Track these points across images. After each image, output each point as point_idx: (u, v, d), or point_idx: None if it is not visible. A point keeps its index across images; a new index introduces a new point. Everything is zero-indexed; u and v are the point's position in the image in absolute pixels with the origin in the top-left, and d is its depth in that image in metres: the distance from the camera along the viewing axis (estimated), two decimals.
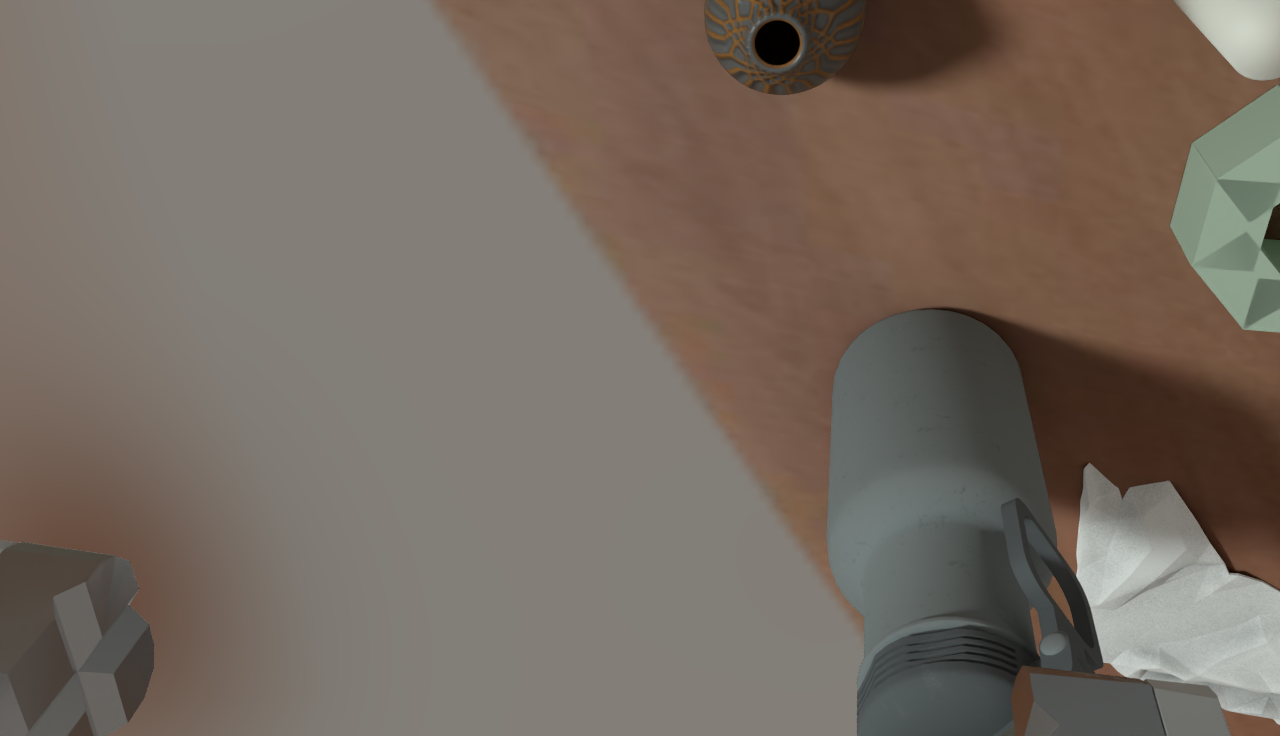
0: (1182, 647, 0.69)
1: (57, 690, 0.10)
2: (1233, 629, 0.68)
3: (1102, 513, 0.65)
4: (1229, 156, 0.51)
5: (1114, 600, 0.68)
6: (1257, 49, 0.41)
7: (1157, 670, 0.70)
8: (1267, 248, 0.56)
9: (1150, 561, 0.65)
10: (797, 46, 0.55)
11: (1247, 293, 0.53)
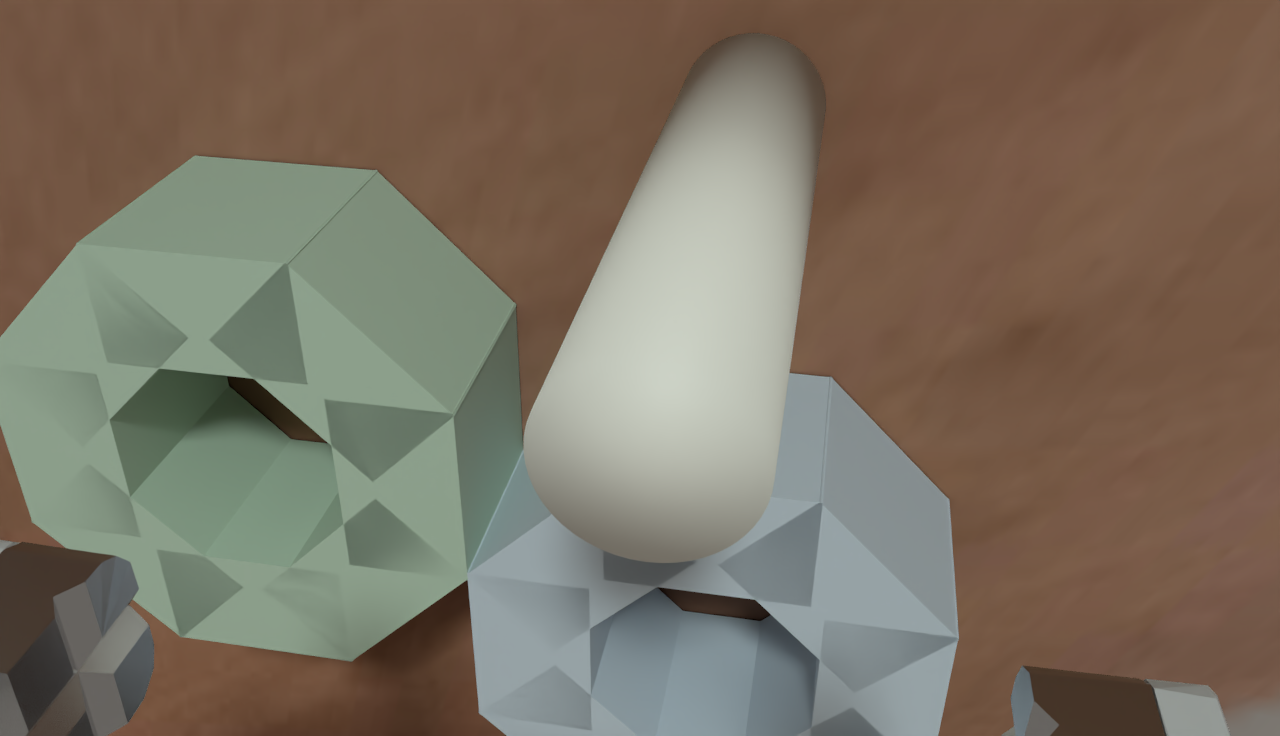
0: None
1: (57, 690, 0.10)
2: None
3: None
4: (349, 270, 0.23)
5: None
6: (616, 433, 0.13)
7: None
8: None
9: None
10: None
11: (57, 359, 0.24)
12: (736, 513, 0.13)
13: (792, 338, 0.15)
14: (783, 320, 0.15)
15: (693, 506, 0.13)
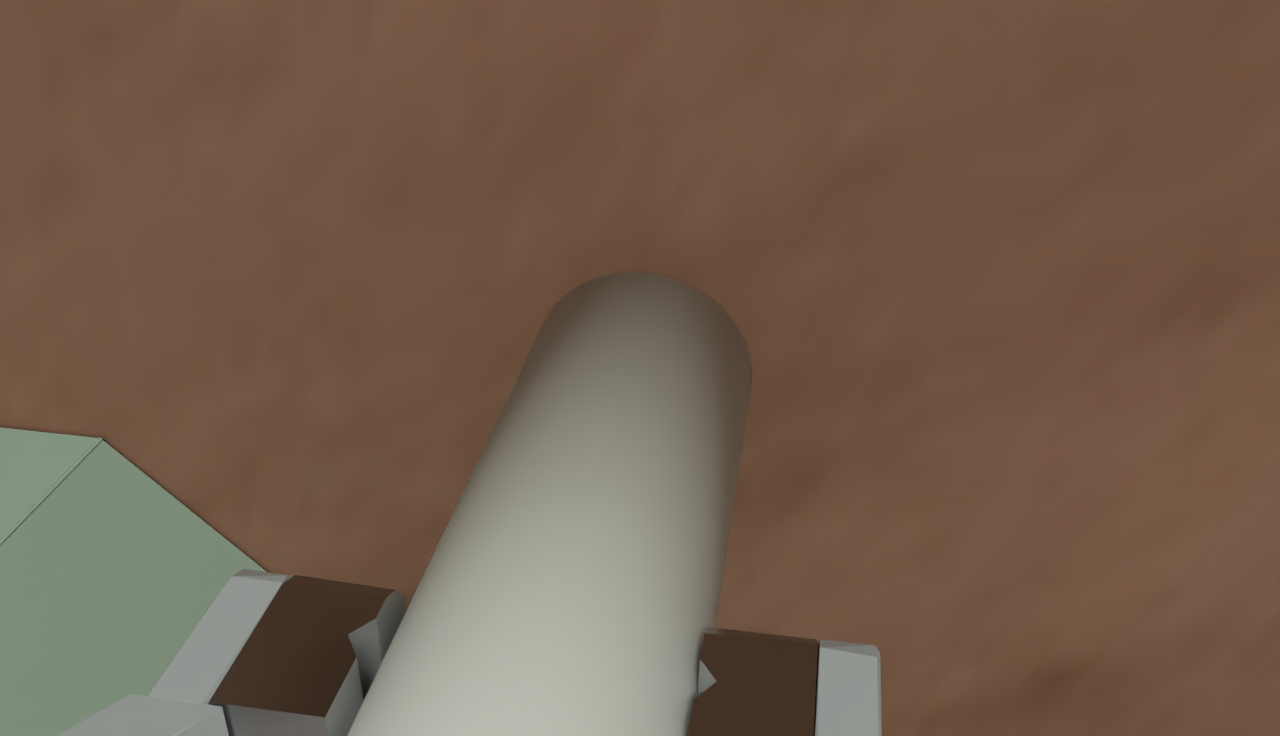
0: None
1: None
2: None
3: None
4: (15, 638, 0.15)
5: None
6: None
7: None
8: None
9: None
10: None
11: None
12: None
13: None
14: None
15: None
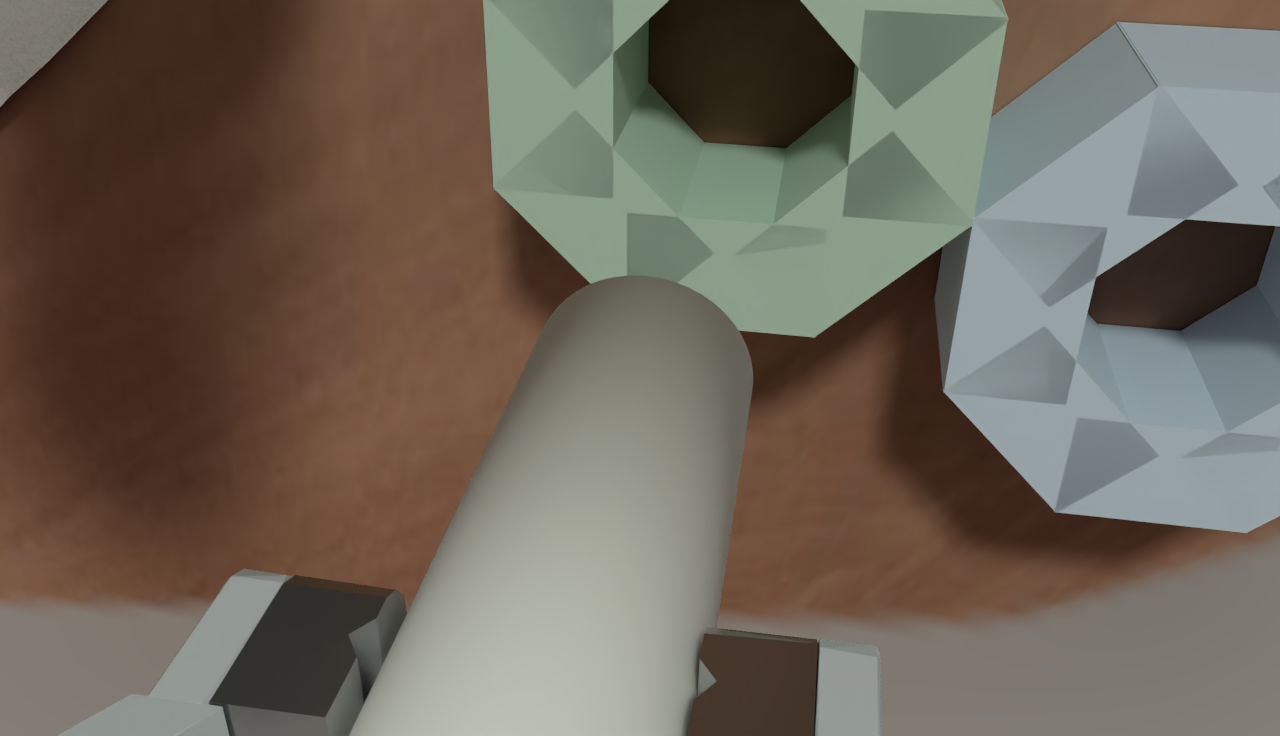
0: None
1: None
2: None
3: None
4: None
5: None
6: None
7: None
8: None
9: None
10: None
11: None
12: None
13: None
14: None
15: None
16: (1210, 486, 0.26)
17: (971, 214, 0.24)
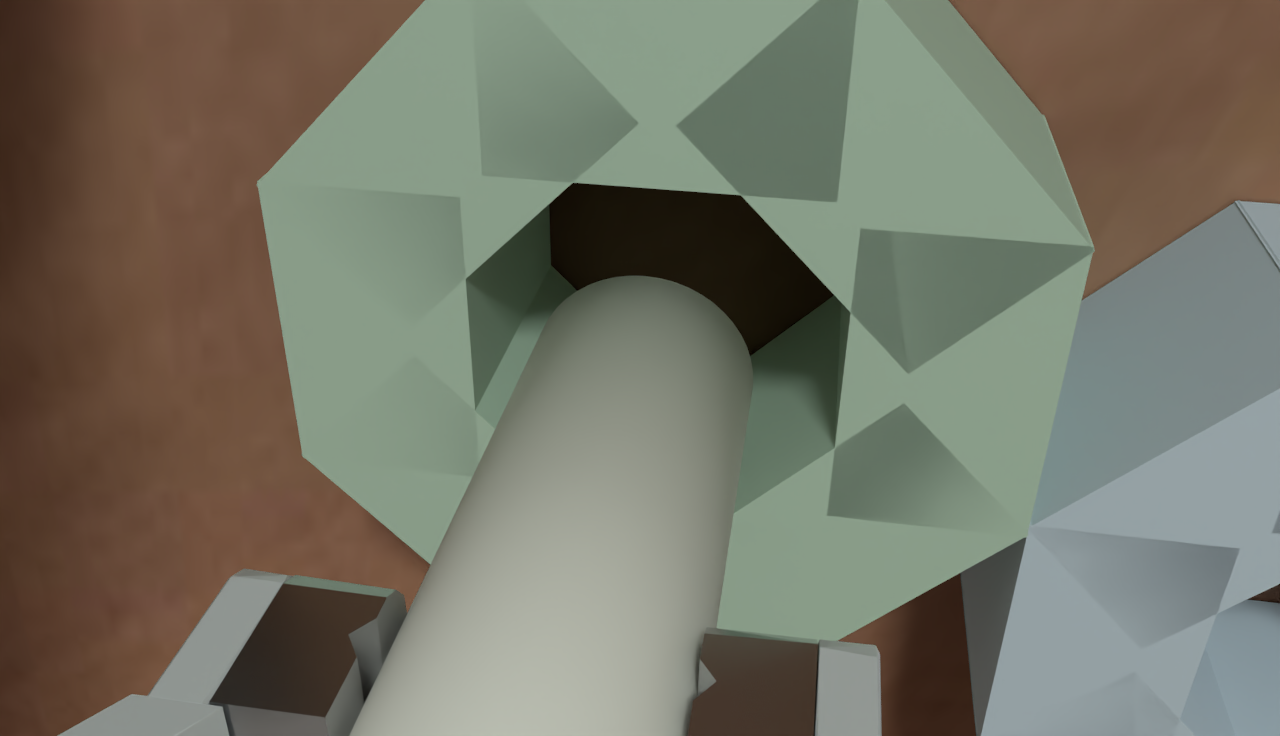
0: None
1: None
2: None
3: None
4: (912, 8, 0.13)
5: None
6: None
7: None
8: None
9: None
10: None
11: (395, 172, 0.14)
12: None
13: None
14: None
15: None
16: None
17: (1026, 521, 0.15)
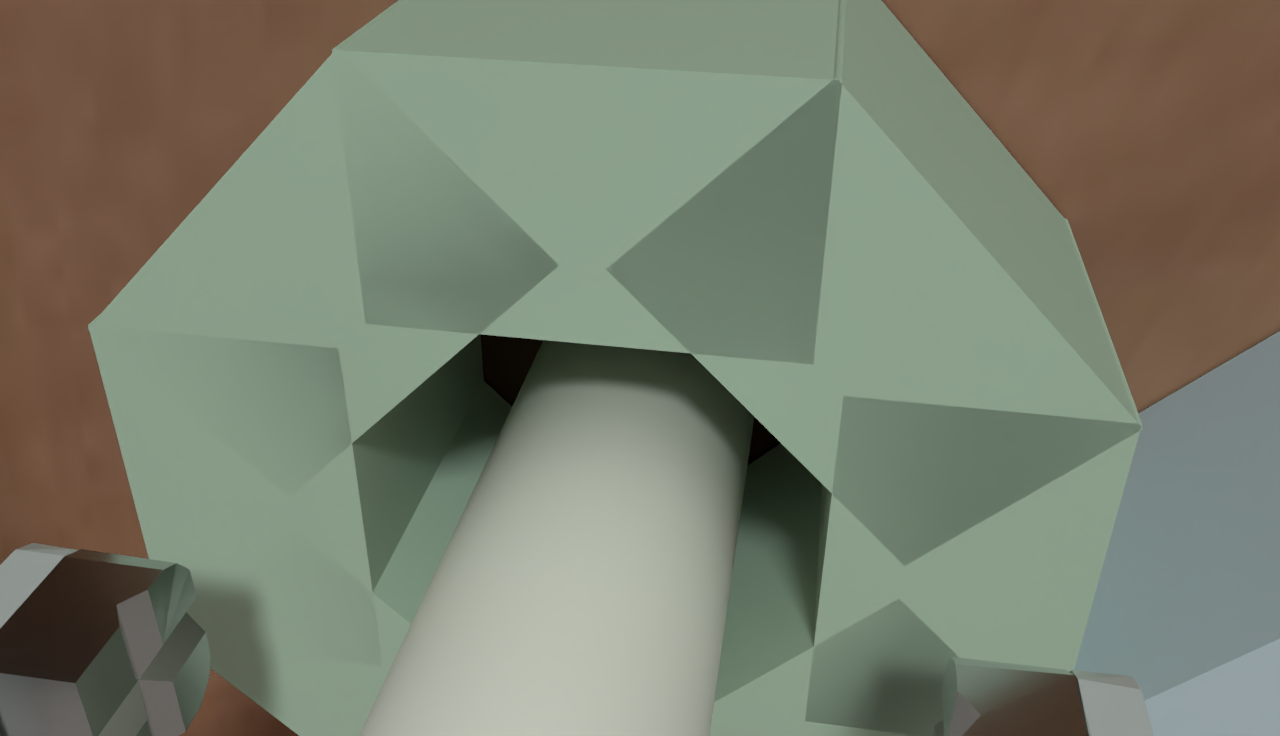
0: None
1: (121, 699, 0.10)
2: None
3: None
4: (908, 118, 0.11)
5: None
6: None
7: None
8: None
9: None
10: None
11: (257, 317, 0.11)
12: None
13: None
14: None
15: None
16: None
17: None
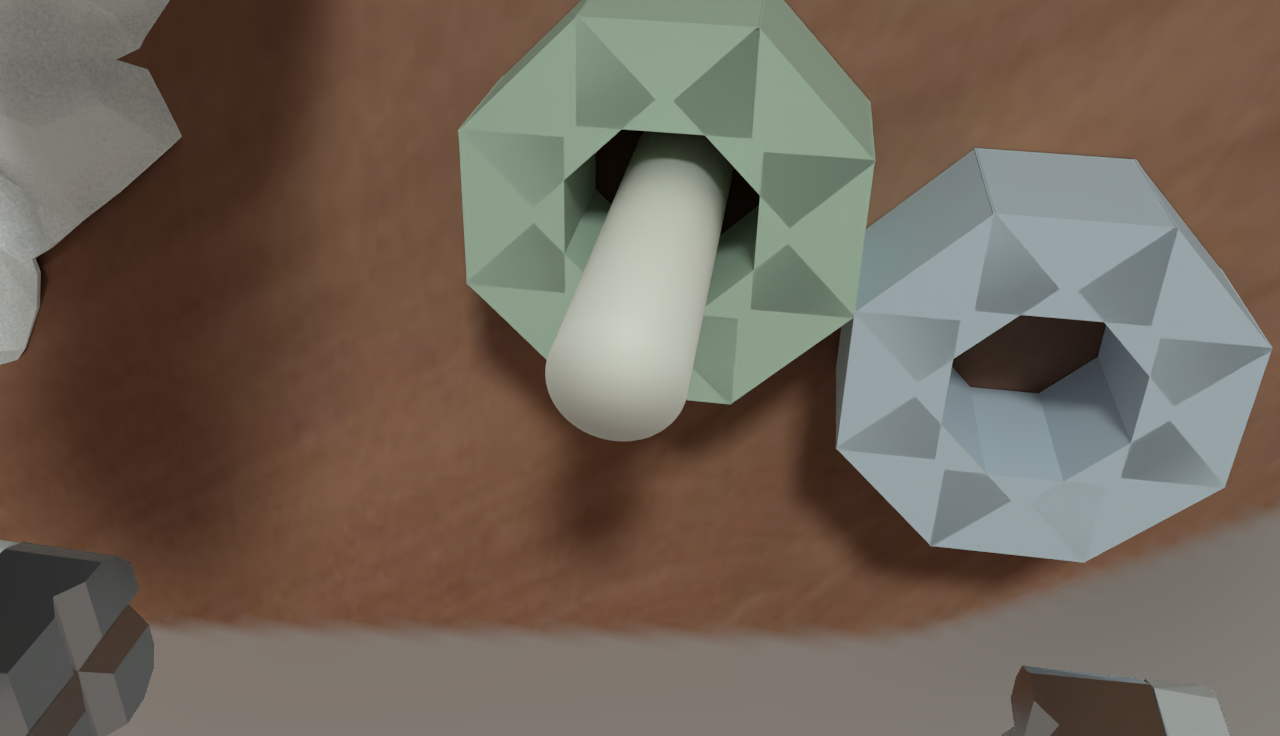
0: None
1: (57, 690, 0.10)
2: None
3: (79, 28, 0.33)
4: (787, 44, 0.28)
5: None
6: (598, 363, 0.23)
7: None
8: None
9: (10, 130, 0.34)
10: None
11: (531, 124, 0.28)
12: (667, 409, 0.23)
13: (701, 313, 0.25)
14: (695, 301, 0.25)
15: (642, 406, 0.23)
16: (1053, 525, 0.32)
17: (852, 309, 0.30)
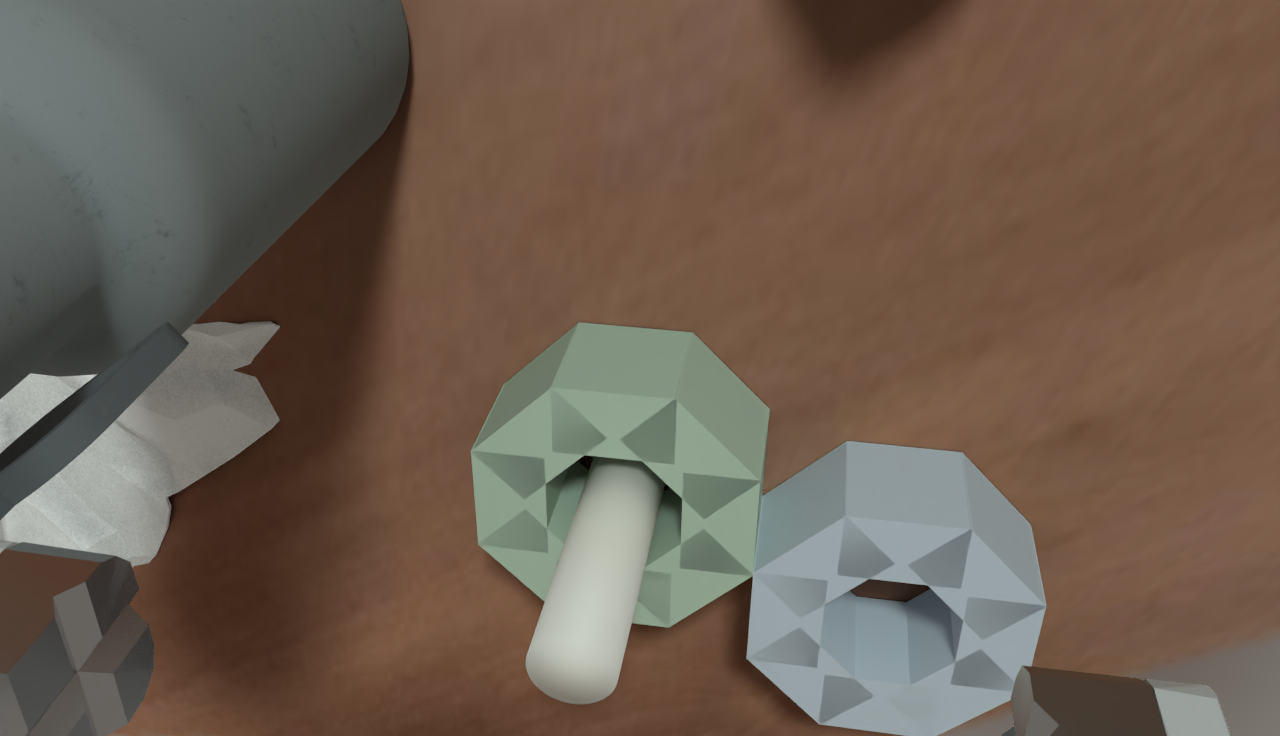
0: None
1: (57, 690, 0.10)
2: (86, 509, 0.51)
3: (207, 352, 0.46)
4: (699, 399, 0.40)
5: (75, 380, 0.47)
6: (559, 659, 0.35)
7: None
8: None
9: (156, 420, 0.47)
10: None
11: (521, 449, 0.41)
12: (605, 687, 0.35)
13: (633, 607, 0.37)
14: (627, 603, 0.37)
15: (589, 684, 0.35)
16: (905, 713, 0.44)
17: (751, 570, 0.42)
